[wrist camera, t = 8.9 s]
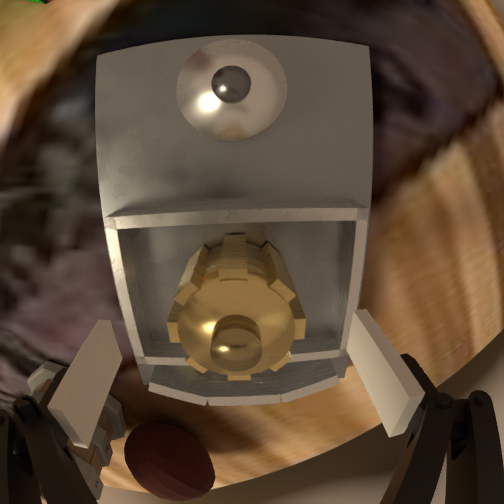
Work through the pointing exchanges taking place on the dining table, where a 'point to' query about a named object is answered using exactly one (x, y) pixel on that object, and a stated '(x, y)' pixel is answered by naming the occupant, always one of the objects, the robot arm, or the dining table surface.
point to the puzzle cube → (40, 1)
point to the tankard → (105, 431)
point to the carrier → (237, 190)
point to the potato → (169, 462)
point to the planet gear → (236, 310)
